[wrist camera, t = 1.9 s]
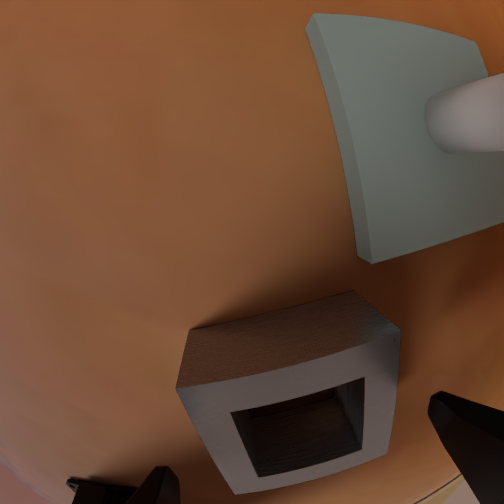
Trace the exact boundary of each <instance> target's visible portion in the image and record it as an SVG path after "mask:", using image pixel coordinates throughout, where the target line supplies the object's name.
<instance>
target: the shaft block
mask: <svg viewBox="0 0 504 504" xmlns="http://www.w3.org/2000/svg"><path fill="white" fill-rule="evenodd" d="M305 30H306V33H307V36H308V39H309V42H310V45H311V48H312V50H313V54H314V57H315V60H316V63H317V66H318V69H319V72H320V76H321V79H322V82H323V86H324V89H325V93H326V96H327V100H328V104H329V108H330V111H331V115H332V119H333V123H334V127H335V131H336V136H337V140H338V144H339V149H340V153H341V158H342V163H343V168H344V173H345V178H346V183H347V189H348V195H349V200H350V206H351V213H352V219H353V226H354V233H355V240H356V248H357V256H358V257H360V258H362V259H364V260H366V261H367V262H369V263H371V264H374V263H378V262H381V261H385V260H388V259H392V258H395V257H398V256H402V255H405V254H408V253H412V252H415V251H418V250H422V249H425V248H428V247H431V246H434V245H438V244H441V243H444V242H447V241H450V240H453V239H456V238H459V237H462V236H465V235H468V234H471V233H474V232H477V231H480V230H483V229H486V228H489V227H492V226H494V225H497V224H500V223H503V222H504V73H501V74H498V75H494V76H491V77H489V75H488V72H487V69H486V67H485V64H484V61H483V59H482V56H481V53H480V51H479V49H478V46H477V44H476V42H474V41H471V40H469V39H466V38H463V37H460V36H456V35H453V34H450V33H446V32H443V31H439V30H436V29H432V28H428V27H423V26H419V25H415V24H410V23H405V22H399V21H394V20H387V19H381V18H373V17H364V16H354V15H341V14H313V15H312V17H311V19H310V20H309V22H308V24H307V26H306V28H305Z"/></svg>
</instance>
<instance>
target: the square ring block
mask: <svg viewBox="0 0 504 504" xmlns="http://www.w3.org/2000/svg"><path fill="white" fill-rule="evenodd" d="M400 341H401V330H400V329H399V328H398V327H397V326H396V325H394V324H393V323H392V322H391V321H390V320H389V319H388V318H386V317H385V316H384V315H383V314H382V313H380V312H379V311H378V310H377V309H376V308H375V307H373V306H372V305H371V304H370V303H369V302H368V301H366V300H365V299H364V298H363V297H362V296H360V295H359V294H358V293H357V292H356V291H354V290H352V291H349V292H345V293H342V294H338V295H335V296H331V297H328V298H324V299H320V300H317V301H313V302H309V303H306V304H302V305H298V306H294V307H290V308H286V309H282V310H278V311H274V312H270V313H266V314H262V315H257V316H253V317H249V318H244V319H240V320H236V321H231V322H226V323H222V324H217V325H212V326H207V327H203V328H198V329H192V330H189V332H188V336H187V341H186V345H185V349H184V353H183V357H182V362H181V366H180V370H179V375H178V379H177V384H176V388H175V389H176V391H177V393H178V395H179V397H180V399H181V401H182V403H183V405H184V407H185V409H186V411H187V413H188V415H189V417H190V419H191V421H192V423H193V425H194V427H195V429H196V430H197V432H198V434H199V436H200V438H201V440H202V441H203V443H204V445H205V447H206V449H207V450H208V452H209V454H210V455H211V457H212V459H213V461H214V462H215V464H216V466H217V467H218V469H219V471H220V472H221V474H222V475H223V477H224V479H225V480H226V482H227V483H228V485H229V486H230V488H231V489H232V491H233V492H234V494H235V495H237V494H245V493H252V492H258V491H264V490H270V489H275V488H280V487H285V486H289V485H294V484H298V483H302V482H306V481H310V480H314V479H317V478H321V477H324V476H328V475H331V474H334V473H337V472H340V471H343V470H346V469H349V468H352V467H355V466H358V465H360V464H363V463H366V462H368V461H371V460H373V459H376V458H378V457H380V456H383V455H385V454H387V452H388V447H389V441H390V436H391V430H392V424H393V417H394V410H395V403H396V394H397V385H398V374H399V360H400ZM332 387H335V397H334V398H330V399H327V400H324V401H321V402H317V403H314V404H310V405H307V406H303V407H299V408H296V409H292V410H288V411H284V412H280V413H275V414H271V415H266V416H262V417H257V418H252V419H251V418H250V416H249V413H248V410H247V409H250V408H255V407H260V406H265V405H269V404H273V403H278V402H282V401H286V400H290V399H294V398H298V397H301V396H305V395H309V394H312V393H316V392H319V391H322V390H326V389H329V388H332Z"/></svg>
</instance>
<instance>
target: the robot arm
mask: <svg viewBox="0 0 504 504" xmlns="http://www.w3.org/2000/svg"><path fill="white" fill-rule="evenodd" d="M428 416H429V418H430V420H431V422H432V424H433V426H434V428H435V430H436V432H437V434H438V436H439V438H440V440H441V442H442V444H443V446H444V447H445V449H446V451H447V452H448V454H449V455H450V457H451V458H452V460H453V461H454V463H455V464H456V466H457V467H458V469H459V470H460V472H461V474H462V475H463V477H464V478H465V480H466V481H467V483H468V485H469V486H470V488H471V489H472V491H473V493H474V494H475V496H476V498H477V499H478V501H479V502H480V504H504V411H501V410H498V409H495V408H492V407H488V406H485V405H482V404H479V403H476V402H473V401H470V400H467V399H464V398H461V397H458V396H455V395H453V394H450V393H447V392H444V391H439V392H437V393H435V394H433V395H432V396H431V398H430V402H429V406H428ZM66 484H67V485H68V486H69V487H70V488H71V489H72V490H73V491H74V492H75V493H76V494H75V497H74V499H73V502H72V504H181V501H180V488H179V480H178V478H177V476H176V475H175V474H174V472H173V471H172V470H171V469H170V467H169V466H156V467H155V468H154V469H153V470H152V472H151V473H150V474H149V475H148V477H147V478H146V479H145V480H144V482H143V483H142V484H141V485H140V487H139V488H138V489H135V488H130V487H118V486H109V485H102V484H95V483H88V482H83V481H77V480H72V479H68V480H67V482H66Z"/></svg>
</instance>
